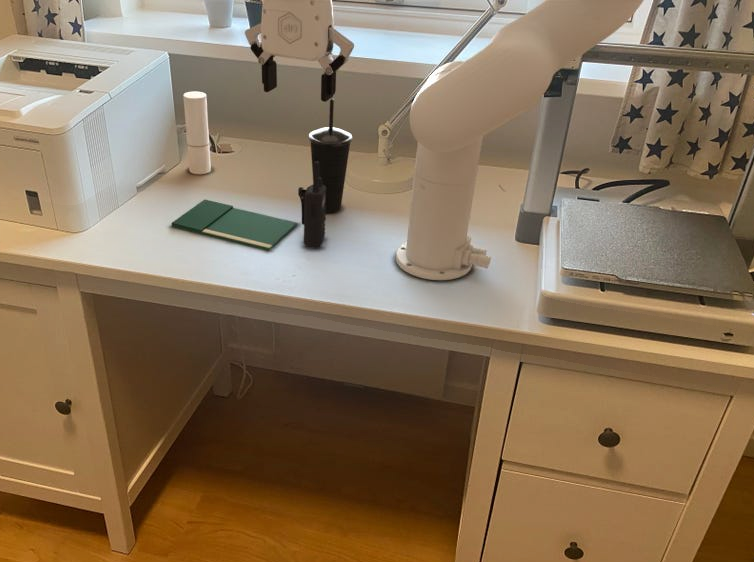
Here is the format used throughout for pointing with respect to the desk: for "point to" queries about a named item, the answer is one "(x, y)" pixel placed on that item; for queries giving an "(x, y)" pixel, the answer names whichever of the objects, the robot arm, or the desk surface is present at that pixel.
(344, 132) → the drinking cup
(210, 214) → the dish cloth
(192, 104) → the tube
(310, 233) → the two-way radio
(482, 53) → the robot arm
